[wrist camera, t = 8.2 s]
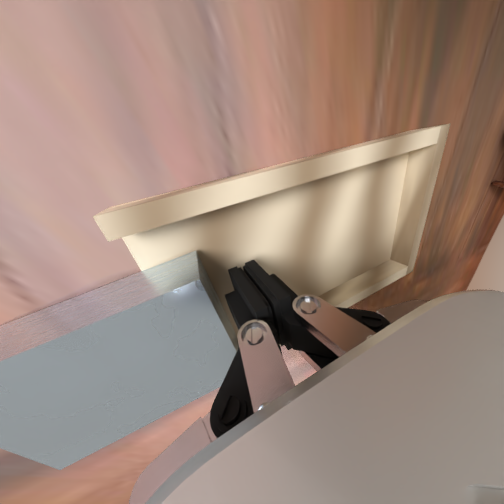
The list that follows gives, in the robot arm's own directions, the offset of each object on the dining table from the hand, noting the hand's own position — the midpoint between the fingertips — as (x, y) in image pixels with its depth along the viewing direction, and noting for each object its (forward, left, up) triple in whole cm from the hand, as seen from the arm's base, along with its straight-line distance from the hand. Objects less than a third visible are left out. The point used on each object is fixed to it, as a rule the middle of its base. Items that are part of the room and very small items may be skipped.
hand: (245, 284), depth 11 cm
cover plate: (+6, -2, -1) cm, 7 cm away
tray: (-5, +2, -1) cm, 6 cm away
